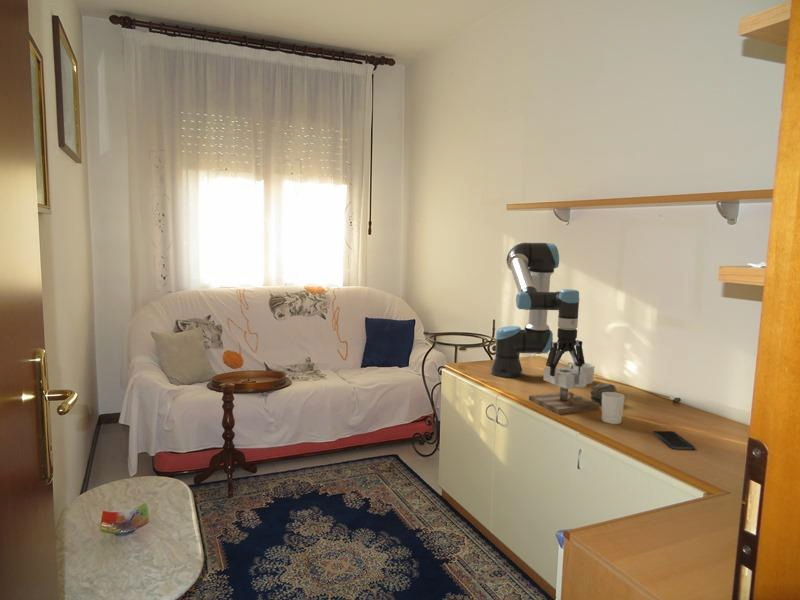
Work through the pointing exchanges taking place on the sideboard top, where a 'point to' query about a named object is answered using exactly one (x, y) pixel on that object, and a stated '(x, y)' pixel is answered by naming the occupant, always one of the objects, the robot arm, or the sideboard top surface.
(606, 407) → the white cup
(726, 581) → the sideboard top surface
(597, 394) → the fossil
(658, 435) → the phone
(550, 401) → the base
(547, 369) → the grey block
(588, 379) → the mug
